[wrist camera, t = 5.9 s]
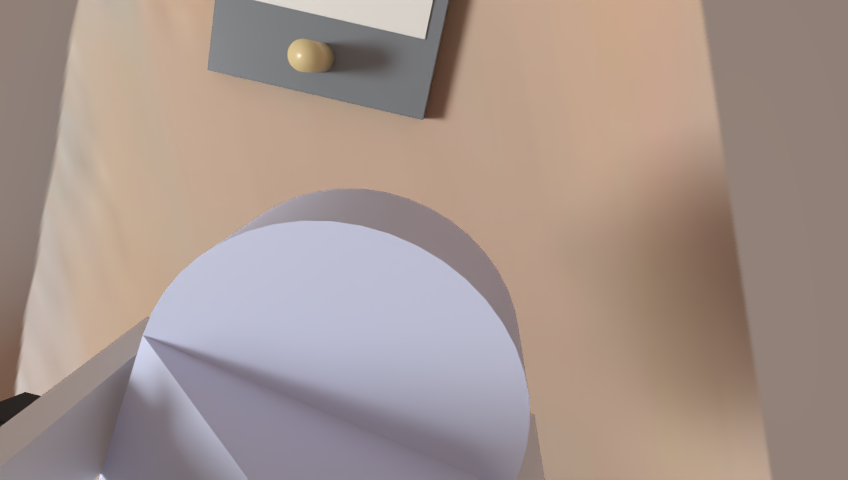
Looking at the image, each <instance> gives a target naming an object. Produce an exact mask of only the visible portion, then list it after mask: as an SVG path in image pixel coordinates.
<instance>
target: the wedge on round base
mask: <svg viewBox="0 0 848 480" xmlns="http://www.w3.org/2000/svg"><path fill="white" fill-rule="evenodd" d="M529 426H530V406H529V393H528V386H527V380H526V374H525V367H524V361H523V354H522V348H521V341H520V335H519V329H518V324H517V318H516V313H515V309H514V306H513V303H512V300H511V297H510V294H509V292H508V289H507V287H506V285H505V283H504V281H503V280H502V278H501V276H500V274H499V272H498V270H497V269H496V267H495V266H494V264H493V263H492V262H491V260H490V259H489V257H488V256H487V255H486V253H485V252H484V251H483V250H482V249H481V248H480V247H479V246H478V244H477V243H476V242H475V241H474V240H473V239H472V238H471V237H470V236H469V235H468V234H467V233H465V232H464V231H463V230H462V229H460V228H459V227H458V226H457V225H455V224H454V223H453V222H452V221H450V220H449V219H447V218H445V217H444V216H442V215H440V214H439V213H437V212H436V211H434V210H432V209H431V208H428V207H426V206H424V205H421V204H419V203H417V202H415V201H412V200H410V199H407V198H404V197H400V196H397V195H393V194H390V193H386V192H380V191H373V190H366V189H333V190H325V191H318V192H313V193H310V194H306V195H302V196H299V197H295V198H293V199H290V200H288V201H286V202H284V203H281V204H279V205H277V206H274V207H273V208H271V209H270V210H268V211H266V212H265V213H263V214H262V215H260V216H258V217H257V218H255V219H254V220H252V221H251V222H249V223H248V224H246V225H245V226H243V227H242V228H240V229H239V230H237V231H236V232H235V233H233V234H232V235H230V236H229V237H227V238H226V239H224V240H223V241H221V242H220V243H218V244H217V245H215V246H214V247H212V248H211V249H209V250H208V251H206V252H205V253H203V254H202V255H200V256H199V257H198V258H197V259H195V260H194V261H193V262H192V263H191V264H190V265H189V266H187V267H186V268H185V269H184V270H183V271H182V272H180V274H179V275H178V276H177V277H176V278H175V279H174V281H173V282H172V283H171V284H170V285H169V287H168V288H167V289H166V290H165V291H164V293H163V295H162V296H161V298H160V300H159V301H158V303H157V305H156V306H155V308H154V310H153V311H152V313H151V316H150V318H149V321H148V323H147V326H146V328H145V331H144V333H143V336H142V339H141V343H140V346H139V349H138V352H137V356H136V359H135V362H134V366H133V369H132V372H131V375H130V379H129V382H128V385H127V389H126V392H125V395H124V398H123V402H122V405H121V408H120V412H119V415H118V418H117V421H116V425H115V428H114V431H113V435H112V438H111V441H110V444H109V448H108V451H107V454H106V458H105V461H104V464H103V467H102V471H101V474H100V477H99V480H515V479H516V477H517V475H518V473H519V471H520V468H521V465H522V461H523V458H524V455H525V451H526V448H527V442H528V434H529Z"/></svg>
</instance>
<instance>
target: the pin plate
mask: <svg viewBox="0 0 848 480" xmlns="http://www.w3.org/2000/svg"><path fill="white" fill-rule="evenodd" d="M449 2H450V0H215V7H214V16H213V25H212V34H211V43H210V52H209V61H208V70H210V71H214V72H219V73H223V74H227V75H232V76H236V77H240V78H245V79H249V80H253V81H257V82H262V83H266V84H270V85H275V86H279V87H283V88H288V89H292V90H296V91H300V92H305V93H309V94H313V95H318V96H322V97H326V98H331V99H335V100H339V101H343V102H348V103H352V104H356V105H361V106H365V107H369V108H374V109H378V110H382V111H386V112H391V113H395V114H399V115H404V116H408V117H412V118H417V119H421V120H423V119H424V117H425V112H426V108H427V103H428V99H429V94H430V89H431V85H432V80H433V76H434V71H435V66H436V62H437V57H438V53H439V48H440V43H441V39H442V34H443V29H444V25H445V20H446V16H447V11H448V6H449Z"/></svg>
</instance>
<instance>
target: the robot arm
mask: <svg viewBox="0 0 848 480" xmlns="http://www.w3.org/2000/svg"><path fill="white" fill-rule="evenodd" d="M149 318H150V317H146V318H145V319H144V320H142V321H141V322H140V323H138V324H137V325H136V326H134V327H133V328H132V329H130V330H129V331H128V332H126V333H125V334H124V335H122V336H121V337H120V338H118V339H117V340H116V341H114V342H113V343H112V344H110V345H109V346H108V347H106V348H105V349H104V350H102V351H101V352H100V353H98V354H97V355H96V356H94V357H93V358H92V359H90V360H89V361H88V362H86V363H85V364H84V365H82V366H81V367H80V368H78V369H77V370H76V371H74V372H73V373H72V374H70V375H69V376H68V377H66V378H65V379H64V380H62V381H61V382H60V383H58V384H57V385H56V386H54V387H53V388H52V389H50V390H49V391H48V392H46V393H45V394H44V395H42V396H38V395H34V394H30V393H26V392H24V393H22V394H19V395H17V396H14V397H11V398H9V399H6V400H4V401H1V402H0V480H94V479H95V478H96V477H97V476H98V475H99V474H100V473H101V471H102V467H103V464H104V461H105V458H106V454H107V451H108V448H109V444H110V441H111V438H112V435H113V431H114V428H115V425H116V421H117V418H118V415H119V412H120V408H121V405H122V402H123V398H124V395H125V392H126V389H127V385H128V382H129V379H130V375H131V372H132V369H133V366H134V362H135V359H136V356H137V352H138V349H139V346H140V343H141V339H142V336H143V333H144V331H145V328H146V326H147V323H148V321H149ZM515 480H545V478H544V472H543V466H542V459H541V453H540V447H539V440H538V434H537V428H536V422H535V415H534V414H531V413H530V426H529V434H528V442H527V448H526V451H525V455H524V458H523V461H522V465H521V468H520V471H519V473H518V475H517V477H516V479H515Z"/></svg>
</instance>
